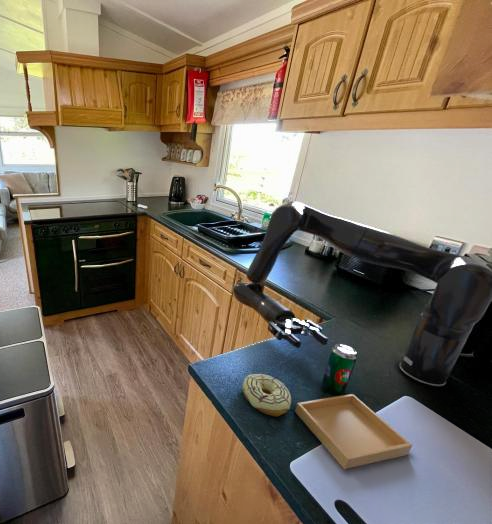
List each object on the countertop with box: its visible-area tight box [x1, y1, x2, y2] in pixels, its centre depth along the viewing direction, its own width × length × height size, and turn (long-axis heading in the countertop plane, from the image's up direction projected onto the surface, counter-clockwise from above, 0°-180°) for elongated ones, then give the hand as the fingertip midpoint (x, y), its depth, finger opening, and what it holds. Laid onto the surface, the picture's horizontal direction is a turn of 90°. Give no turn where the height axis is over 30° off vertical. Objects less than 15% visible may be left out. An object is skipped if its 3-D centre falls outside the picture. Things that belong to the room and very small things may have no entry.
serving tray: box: [294, 393, 413, 470], centre depth 61 cm, size 15×13×3 cm
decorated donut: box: [241, 373, 292, 417], centre depth 68 cm, size 10×11×4 cm
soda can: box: [321, 343, 358, 396], centre depth 71 cm, size 5×5×12 cm
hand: (312, 343), depth 78 cm, fingers open, 8 cm apart
